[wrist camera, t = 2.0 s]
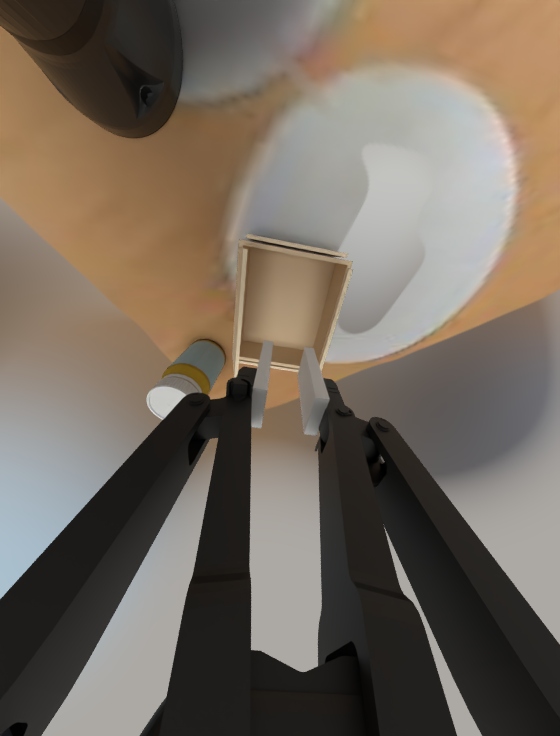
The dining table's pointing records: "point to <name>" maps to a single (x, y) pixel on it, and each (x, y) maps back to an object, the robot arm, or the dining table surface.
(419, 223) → the dining table surface
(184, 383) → the bottle
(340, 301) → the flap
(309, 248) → the carton
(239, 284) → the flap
